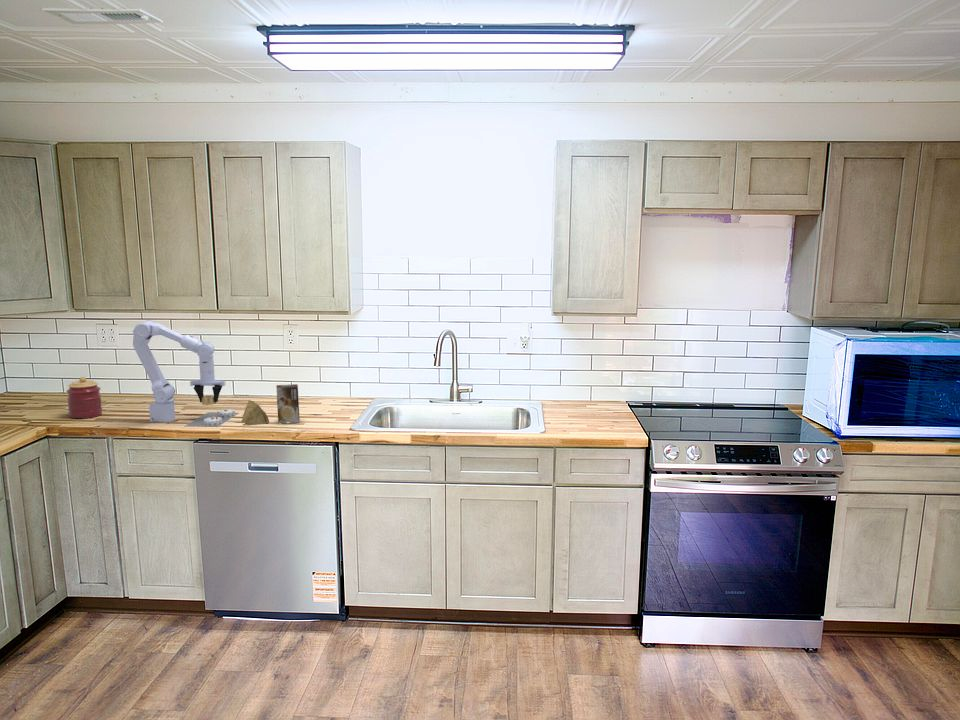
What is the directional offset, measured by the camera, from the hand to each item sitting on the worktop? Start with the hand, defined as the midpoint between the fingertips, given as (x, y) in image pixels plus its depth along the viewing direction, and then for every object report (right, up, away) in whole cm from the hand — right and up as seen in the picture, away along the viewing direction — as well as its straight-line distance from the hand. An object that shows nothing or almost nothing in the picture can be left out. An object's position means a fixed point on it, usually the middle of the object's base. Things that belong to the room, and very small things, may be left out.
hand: (209, 401), depth 286 cm
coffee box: (+34, -9, +2) cm, 35 cm away
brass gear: (0, -1, 0) cm, 1 cm away
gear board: (+1, -9, +1) cm, 9 cm away
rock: (+21, -10, -2) cm, 23 cm away
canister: (-58, -7, +8) cm, 59 cm away
